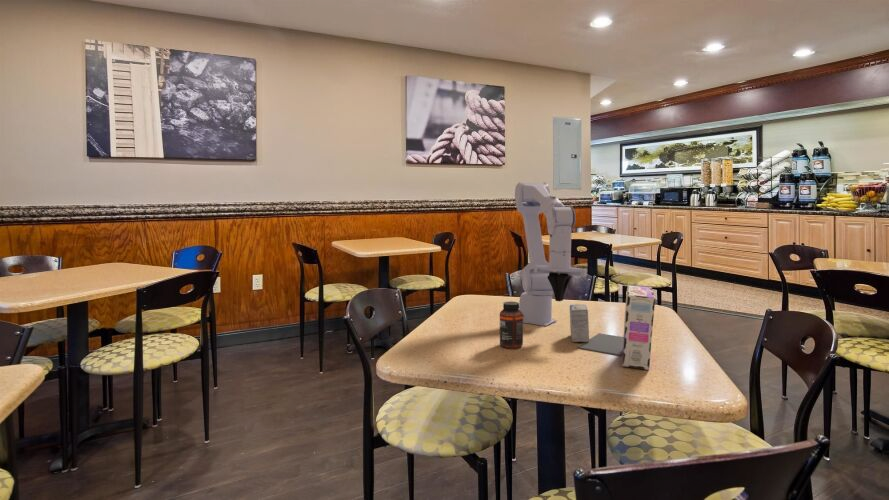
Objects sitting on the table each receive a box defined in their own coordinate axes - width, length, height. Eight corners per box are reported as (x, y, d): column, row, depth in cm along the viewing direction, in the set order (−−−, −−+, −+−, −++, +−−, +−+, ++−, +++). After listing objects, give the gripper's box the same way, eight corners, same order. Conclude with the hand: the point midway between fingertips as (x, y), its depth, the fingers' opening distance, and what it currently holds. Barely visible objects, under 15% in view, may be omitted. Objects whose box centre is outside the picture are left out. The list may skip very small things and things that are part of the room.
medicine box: (589, 342, 129) (588, 309, 128) (571, 342, 129) (570, 309, 129) (586, 335, 136) (586, 304, 136) (570, 335, 137) (569, 304, 137)
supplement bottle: (524, 343, 129) (525, 301, 128) (520, 350, 123) (521, 305, 122) (502, 341, 131) (502, 299, 130) (497, 348, 125) (497, 304, 124)
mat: (577, 348, 125) (577, 347, 125) (598, 334, 138) (598, 333, 138) (621, 356, 118) (621, 354, 118) (639, 340, 131) (639, 339, 131)
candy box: (650, 371, 108) (655, 297, 106) (621, 367, 110) (626, 294, 108) (647, 352, 121) (652, 286, 119) (622, 348, 123) (626, 283, 121)
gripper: (529, 251, 135) (528, 299, 136) (580, 254, 127) (579, 306, 128) (540, 248, 141) (539, 295, 142) (590, 251, 132) (589, 301, 134)
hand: (559, 300), depth 135 cm, fingers closed
